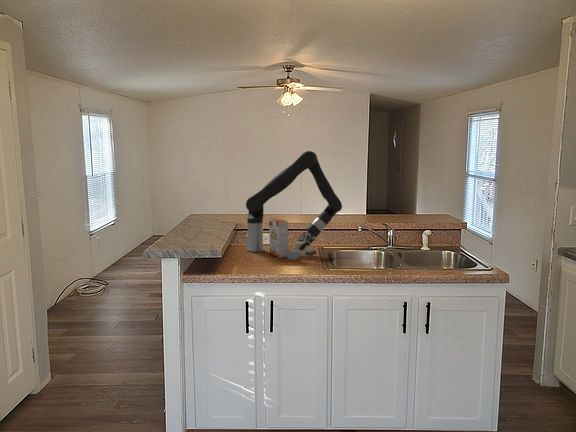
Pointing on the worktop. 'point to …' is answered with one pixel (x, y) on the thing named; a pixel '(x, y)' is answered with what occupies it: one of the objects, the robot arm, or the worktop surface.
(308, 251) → the charcoal pad
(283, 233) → the cracker box
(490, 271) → the worktop surface
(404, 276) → the worktop surface
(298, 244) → the birch block
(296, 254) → the slate cube
